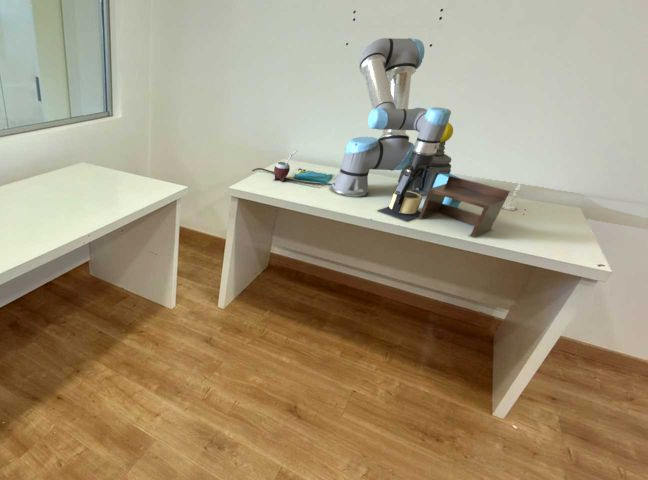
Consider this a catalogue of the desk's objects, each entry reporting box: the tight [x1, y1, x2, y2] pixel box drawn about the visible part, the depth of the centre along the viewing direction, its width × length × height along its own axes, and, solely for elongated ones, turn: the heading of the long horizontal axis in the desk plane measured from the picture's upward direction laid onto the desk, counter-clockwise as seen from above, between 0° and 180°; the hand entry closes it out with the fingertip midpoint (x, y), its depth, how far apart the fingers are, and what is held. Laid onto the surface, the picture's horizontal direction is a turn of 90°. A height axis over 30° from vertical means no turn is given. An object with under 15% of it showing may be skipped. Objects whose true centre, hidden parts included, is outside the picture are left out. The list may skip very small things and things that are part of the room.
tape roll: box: [388, 191, 423, 214], centre depth 162 cm, size 10×10×6 cm
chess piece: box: [501, 184, 521, 211], centre depth 168 cm, size 5×5×10 cm
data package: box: [433, 173, 462, 208], centre depth 169 cm, size 12×4×12 cm, turn 6°
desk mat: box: [377, 206, 421, 222], centre depth 165 cm, size 12×14×1 cm
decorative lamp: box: [397, 122, 454, 197], centre depth 181 cm, size 19×19×30 cm
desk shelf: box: [417, 175, 511, 238], centre depth 152 cm, size 20×13×15 cm, turn 32°
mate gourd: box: [273, 149, 299, 183], centre depth 194 cm, size 8×8×15 cm
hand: (402, 208), depth 164 cm, fingers closed on tape roll, 10 cm apart
